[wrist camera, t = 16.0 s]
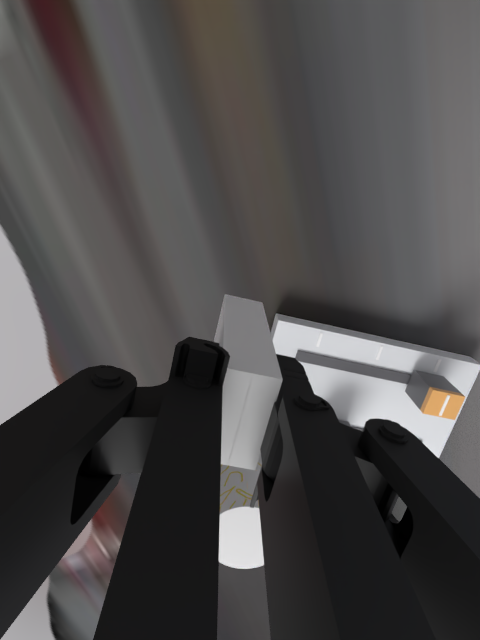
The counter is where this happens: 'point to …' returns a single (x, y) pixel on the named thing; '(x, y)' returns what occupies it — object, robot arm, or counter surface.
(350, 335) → the panel
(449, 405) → the fader orange
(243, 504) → the cup
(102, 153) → the counter surface
